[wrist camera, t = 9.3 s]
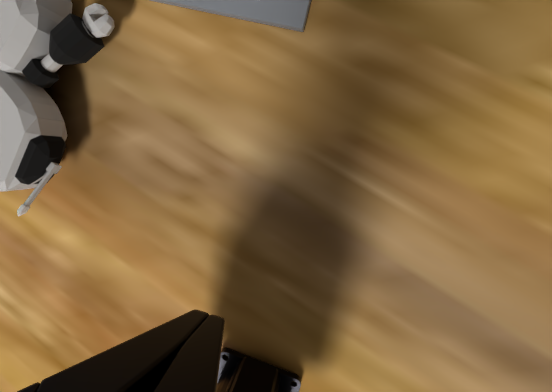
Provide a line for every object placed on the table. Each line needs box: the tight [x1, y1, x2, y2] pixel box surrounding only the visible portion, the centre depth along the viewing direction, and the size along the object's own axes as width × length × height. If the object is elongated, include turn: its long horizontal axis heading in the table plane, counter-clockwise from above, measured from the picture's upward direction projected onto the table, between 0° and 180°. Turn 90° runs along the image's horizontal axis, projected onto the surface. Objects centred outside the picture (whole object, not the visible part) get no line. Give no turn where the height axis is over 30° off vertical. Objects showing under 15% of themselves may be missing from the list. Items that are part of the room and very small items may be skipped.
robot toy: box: [0, 0, 115, 216], centre depth 19 cm, size 12×4×15 cm
